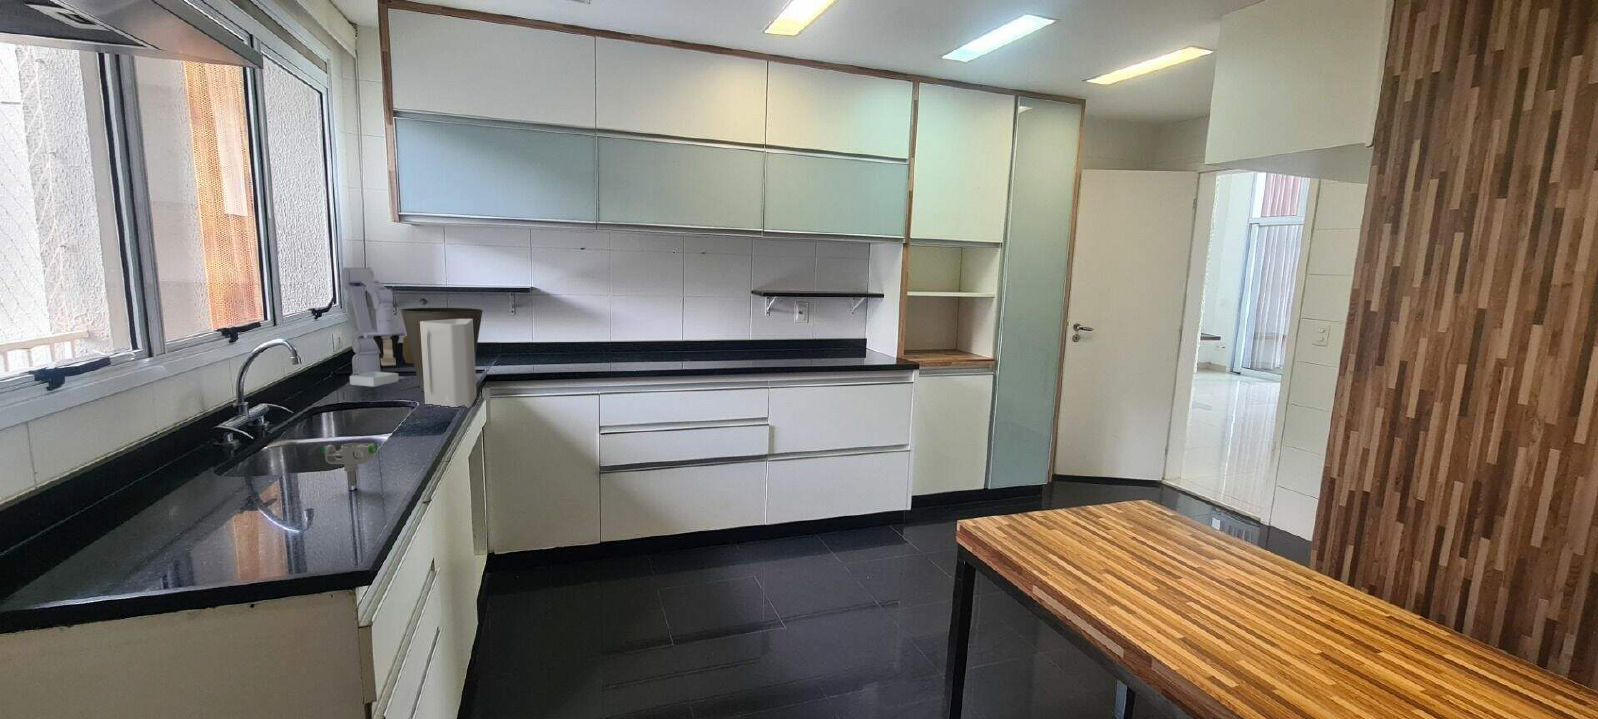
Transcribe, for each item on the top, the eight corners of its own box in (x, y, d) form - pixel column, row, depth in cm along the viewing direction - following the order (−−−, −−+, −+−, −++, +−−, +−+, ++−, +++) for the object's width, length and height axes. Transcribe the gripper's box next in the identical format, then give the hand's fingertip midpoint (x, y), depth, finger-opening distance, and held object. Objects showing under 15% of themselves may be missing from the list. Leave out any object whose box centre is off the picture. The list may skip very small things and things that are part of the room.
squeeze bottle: (427, 362, 301) (425, 323, 298) (412, 364, 294) (409, 325, 291) (414, 361, 304) (411, 322, 301) (398, 363, 296) (396, 324, 293)
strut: (380, 364, 256) (378, 339, 254) (393, 363, 259) (391, 338, 257) (382, 365, 252) (380, 340, 251) (395, 364, 255) (394, 339, 254)
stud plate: (376, 380, 256) (376, 373, 256) (394, 377, 264) (393, 370, 264) (393, 382, 254) (393, 375, 254) (410, 378, 262) (409, 371, 262)
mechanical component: (332, 487, 142) (328, 443, 141) (381, 487, 143) (378, 443, 142) (323, 492, 139) (319, 447, 138) (374, 491, 140) (370, 447, 139)
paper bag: (430, 397, 230) (425, 319, 226) (477, 395, 235) (473, 318, 231) (420, 410, 212) (414, 324, 208) (470, 407, 217) (466, 324, 213)
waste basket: (488, 382, 260) (485, 307, 255) (484, 392, 241) (480, 311, 237) (411, 385, 250) (406, 307, 246) (400, 396, 232) (394, 311, 227)
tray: (350, 386, 245) (349, 376, 244) (375, 381, 255) (375, 371, 255) (374, 388, 242) (373, 378, 241) (398, 383, 253) (398, 373, 252)
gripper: (364, 322, 245) (367, 357, 247) (408, 320, 255) (410, 354, 257) (361, 320, 250) (364, 355, 253) (404, 319, 260) (407, 352, 262)
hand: (387, 355), depth 255 cm, fingers closed on strut, 3 cm apart
